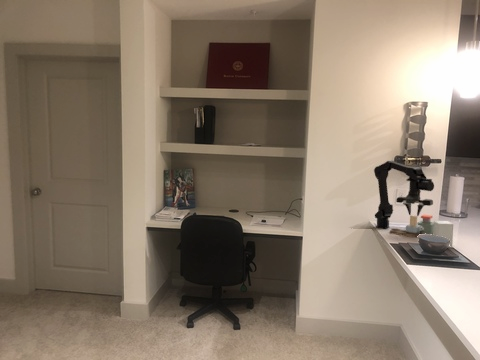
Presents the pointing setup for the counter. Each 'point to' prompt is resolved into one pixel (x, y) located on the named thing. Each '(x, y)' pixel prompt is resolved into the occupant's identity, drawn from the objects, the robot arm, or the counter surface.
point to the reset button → (426, 218)
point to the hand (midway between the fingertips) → (413, 215)
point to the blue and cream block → (413, 225)
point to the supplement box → (444, 229)
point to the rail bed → (405, 232)
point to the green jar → (427, 227)
